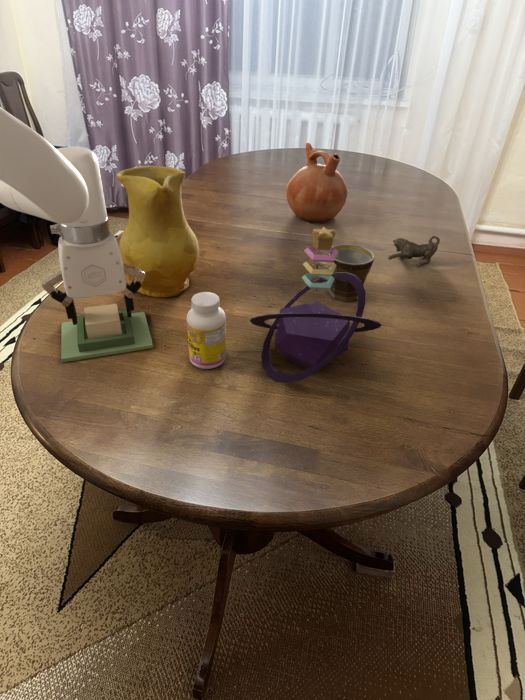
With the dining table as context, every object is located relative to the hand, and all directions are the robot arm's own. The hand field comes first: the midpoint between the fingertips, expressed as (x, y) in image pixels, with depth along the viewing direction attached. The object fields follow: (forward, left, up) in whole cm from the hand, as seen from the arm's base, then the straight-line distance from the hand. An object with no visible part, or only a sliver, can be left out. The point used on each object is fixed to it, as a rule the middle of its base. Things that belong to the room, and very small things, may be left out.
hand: (102, 317), depth 87 cm
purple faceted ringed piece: (+35, -17, -5) cm, 39 cm away
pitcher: (+14, +19, -5) cm, 24 cm away
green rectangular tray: (0, 0, -4) cm, 4 cm away
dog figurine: (+77, +14, -5) cm, 78 cm away
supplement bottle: (+17, -12, -5) cm, 21 cm away
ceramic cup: (+51, +3, -5) cm, 51 cm away
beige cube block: (0, 0, -4) cm, 4 cm away
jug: (+65, +49, -5) cm, 82 cm away
